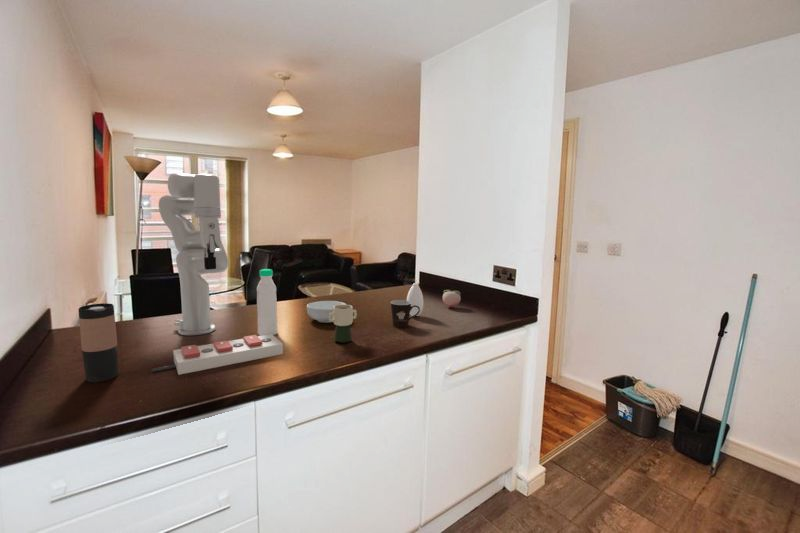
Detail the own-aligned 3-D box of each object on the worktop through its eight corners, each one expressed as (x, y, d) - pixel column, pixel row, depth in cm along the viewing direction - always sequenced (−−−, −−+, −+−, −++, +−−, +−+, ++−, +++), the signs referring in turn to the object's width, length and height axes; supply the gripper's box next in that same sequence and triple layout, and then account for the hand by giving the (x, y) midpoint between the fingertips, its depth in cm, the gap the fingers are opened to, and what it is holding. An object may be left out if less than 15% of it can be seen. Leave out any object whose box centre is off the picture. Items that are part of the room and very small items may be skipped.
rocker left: (184, 358, 109) (184, 354, 109) (181, 349, 116) (181, 346, 115) (200, 355, 112) (200, 351, 111) (196, 347, 118) (195, 344, 118)
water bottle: (271, 337, 140) (269, 271, 137) (254, 336, 141) (252, 270, 138) (280, 332, 147) (279, 268, 143) (264, 330, 148) (262, 267, 145)
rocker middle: (218, 352, 114) (218, 348, 114) (213, 345, 121) (213, 342, 121) (232, 349, 117) (232, 346, 117) (227, 343, 123) (226, 340, 123)
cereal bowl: (353, 319, 167) (354, 303, 166) (327, 328, 153) (327, 311, 152) (325, 313, 176) (325, 298, 175) (298, 321, 162) (298, 305, 161)
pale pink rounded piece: (441, 309, 188) (442, 289, 187) (442, 305, 196) (443, 286, 195) (460, 310, 187) (461, 290, 185) (460, 306, 195) (461, 287, 193)
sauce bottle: (423, 319, 170) (424, 279, 168) (406, 318, 170) (407, 279, 168) (422, 314, 178) (423, 276, 175) (406, 314, 178) (407, 276, 175)
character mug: (352, 336, 144) (352, 303, 142) (360, 341, 138) (360, 307, 136) (325, 340, 138) (324, 306, 136) (332, 346, 132) (332, 310, 131)
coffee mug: (386, 327, 157) (387, 303, 155) (395, 321, 165) (395, 299, 163) (413, 330, 152) (413, 306, 151) (420, 325, 160) (420, 302, 159)
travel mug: (97, 371, 108) (91, 303, 105) (126, 371, 109) (120, 303, 106) (77, 383, 100) (70, 310, 98) (107, 382, 101) (101, 310, 98)
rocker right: (249, 346, 120) (249, 343, 120) (243, 339, 126) (243, 336, 126) (262, 344, 122) (262, 341, 122) (255, 337, 128) (255, 334, 128)
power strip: (153, 379, 103) (152, 367, 103) (150, 365, 113) (149, 353, 113) (283, 353, 125) (282, 343, 124) (271, 343, 134) (271, 333, 134)
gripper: (225, 213, 119) (227, 271, 122) (216, 213, 131) (218, 265, 134) (198, 213, 115) (201, 273, 117) (191, 212, 127) (194, 266, 129)
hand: (210, 268), depth 125 cm, fingers closed
